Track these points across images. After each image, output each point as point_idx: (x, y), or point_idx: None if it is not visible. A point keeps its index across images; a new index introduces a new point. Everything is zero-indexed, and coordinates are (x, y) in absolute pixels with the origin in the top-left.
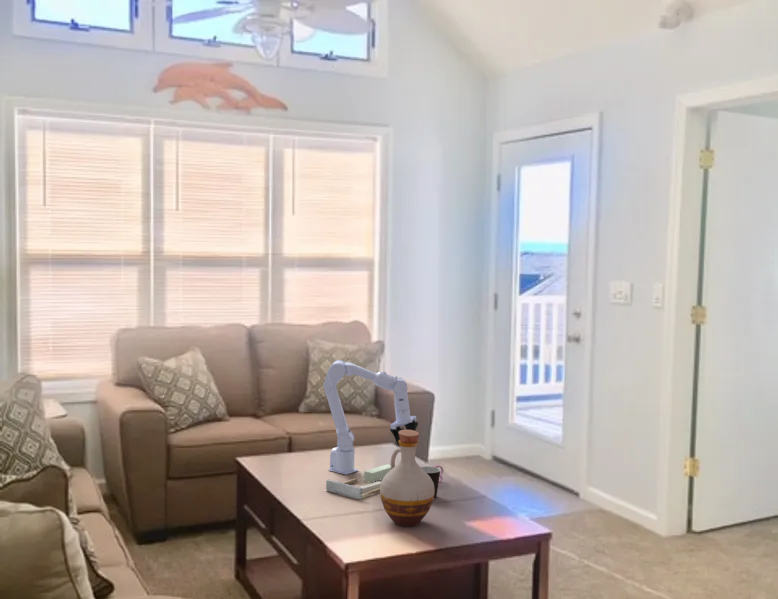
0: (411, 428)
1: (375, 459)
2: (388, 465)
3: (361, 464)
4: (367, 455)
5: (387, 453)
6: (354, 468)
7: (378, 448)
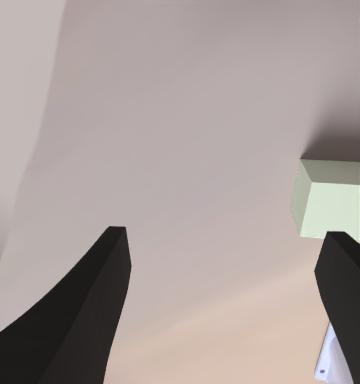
0: (76, 374)
1: (138, 333)
2: (324, 217)
3: (234, 339)
4: (119, 368)
5: None
6: (329, 332)
7: None
